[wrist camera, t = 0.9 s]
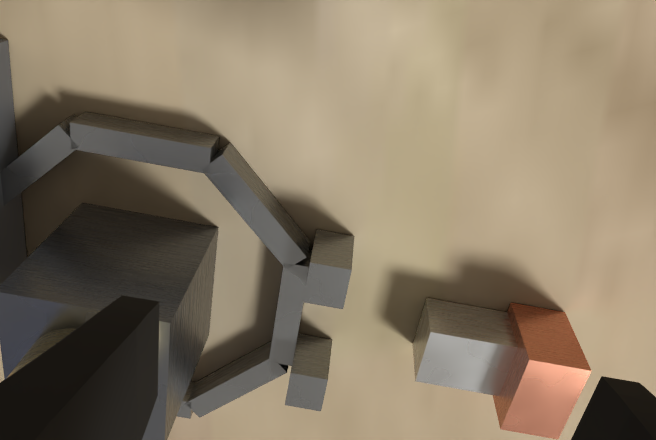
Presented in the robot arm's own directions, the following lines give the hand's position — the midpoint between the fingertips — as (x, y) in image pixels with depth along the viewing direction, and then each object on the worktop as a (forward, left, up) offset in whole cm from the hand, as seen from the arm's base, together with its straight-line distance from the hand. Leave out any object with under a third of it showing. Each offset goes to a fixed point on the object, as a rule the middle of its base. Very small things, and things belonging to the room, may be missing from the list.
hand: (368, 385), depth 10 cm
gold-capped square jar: (-5, +7, -9) cm, 12 cm away
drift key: (-5, -5, -9) cm, 11 cm away
